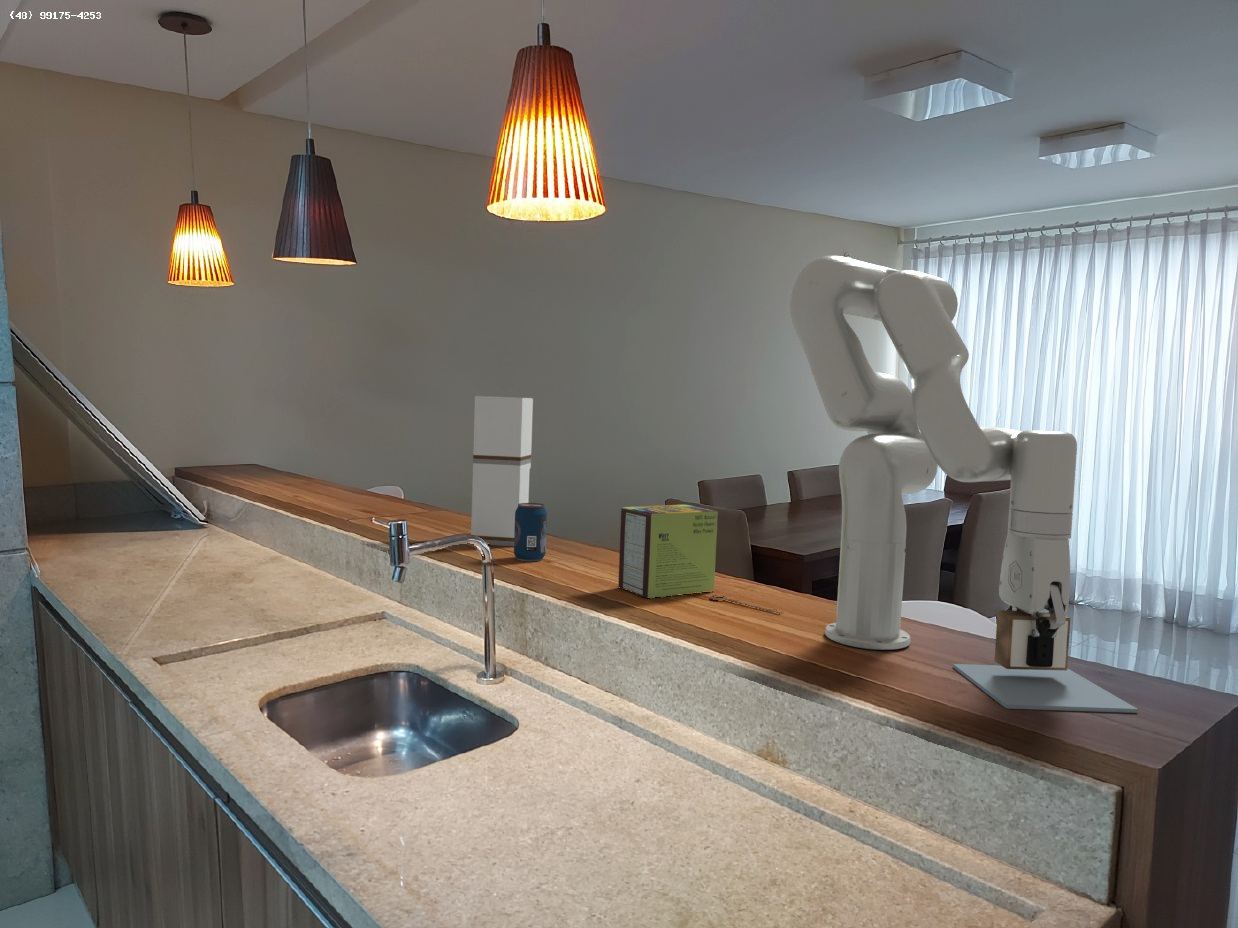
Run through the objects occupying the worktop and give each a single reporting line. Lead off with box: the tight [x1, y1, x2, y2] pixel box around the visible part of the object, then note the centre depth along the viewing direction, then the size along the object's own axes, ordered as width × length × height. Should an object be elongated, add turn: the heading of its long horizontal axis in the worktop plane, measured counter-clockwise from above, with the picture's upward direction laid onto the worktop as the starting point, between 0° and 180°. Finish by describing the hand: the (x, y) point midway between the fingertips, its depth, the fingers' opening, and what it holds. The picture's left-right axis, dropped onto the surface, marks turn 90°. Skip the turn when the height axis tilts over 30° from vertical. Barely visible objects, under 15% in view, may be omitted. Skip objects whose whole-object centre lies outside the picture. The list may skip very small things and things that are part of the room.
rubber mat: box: [952, 663, 1138, 714], centre depth 111 cm, size 16×16×1 cm
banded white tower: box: [470, 395, 534, 547], centre depth 206 cm, size 11×11×35 cm
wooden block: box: [994, 609, 1071, 670], centre depth 114 cm, size 4×8×7 cm, turn 91°
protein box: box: [617, 504, 719, 599], centre depth 161 cm, size 10×15×16 cm
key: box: [709, 594, 783, 614], centre depth 152 cm, size 6×1×15 cm
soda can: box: [513, 502, 548, 562], centre depth 186 cm, size 7×7×12 cm
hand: (1030, 659), depth 114 cm, fingers closed on wooden block, 3 cm apart
